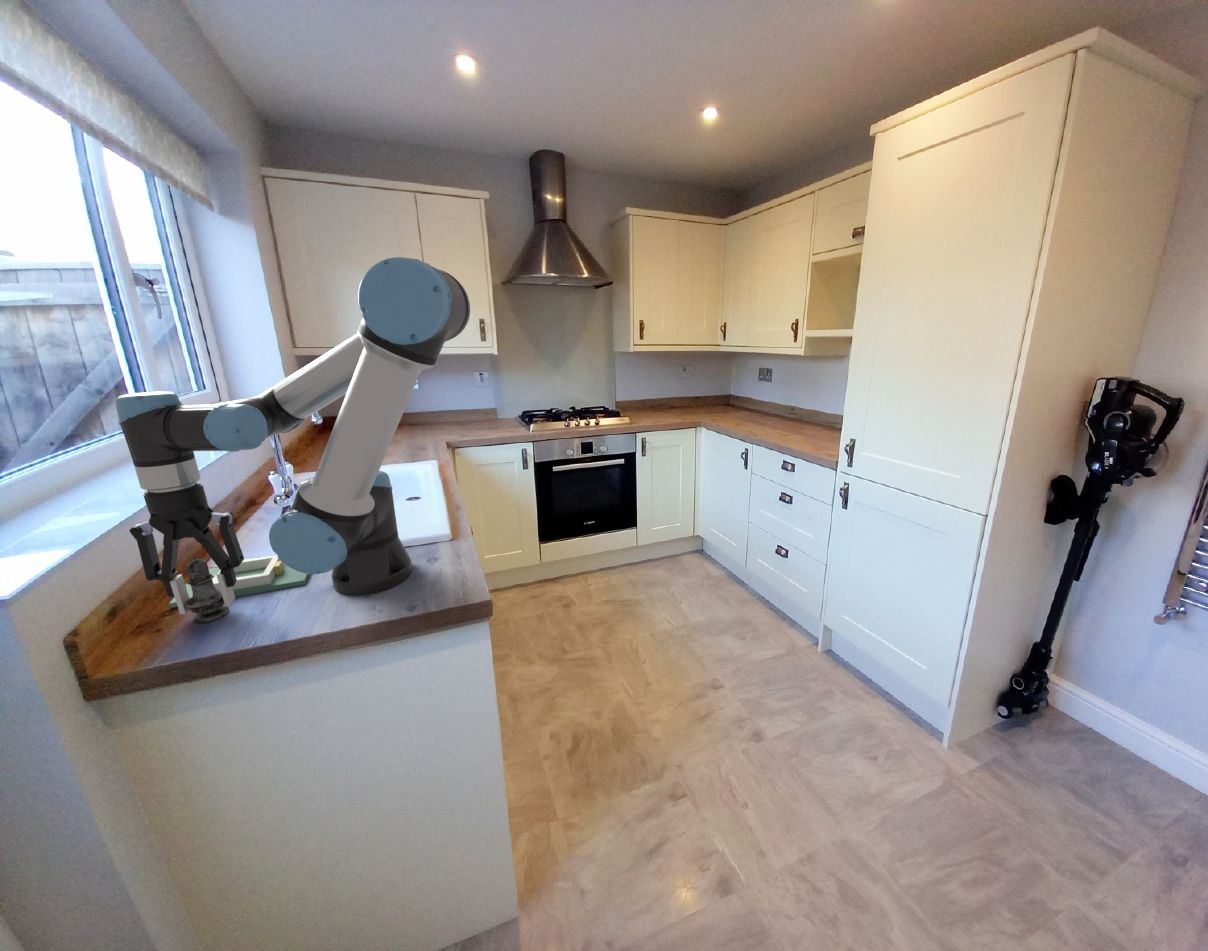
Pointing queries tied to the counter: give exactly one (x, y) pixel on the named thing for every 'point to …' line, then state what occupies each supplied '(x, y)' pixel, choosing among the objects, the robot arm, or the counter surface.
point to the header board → (258, 577)
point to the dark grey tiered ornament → (204, 593)
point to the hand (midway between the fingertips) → (208, 605)
